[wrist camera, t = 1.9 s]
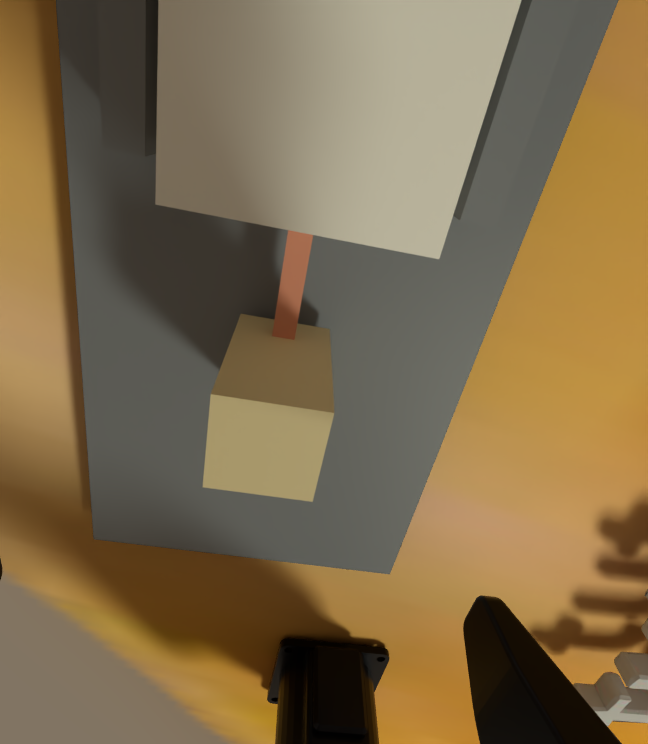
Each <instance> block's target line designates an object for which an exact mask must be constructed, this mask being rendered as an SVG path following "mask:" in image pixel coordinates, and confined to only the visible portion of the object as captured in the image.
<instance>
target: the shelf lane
mask: <svg viewBox="0 0 648 744" xmlns="http://www.w3.org/2000/svg"><path fill="white" fill-rule="evenodd" d="M617 3H618V0H521V4H520V7H519V10H518V13H517V16H516V19H515V22H514V26H513V29H512V32H511V35H510V38H509V41H508V44H507V48H506V51H505V54H504V57H503V60H502V63H501V66H500V70H499V73H498V76H497V79H496V82H495V85H494V89H493V92H492V95H491V98H490V101H489V104H488V107H487V111H486V114H485V117H484V120H483V123H482V126H481V129H480V133H479V136H478V139H477V142H476V145H475V148H474V151H473V155H472V158H471V161H470V164H469V167H468V170H467V173H466V177H465V180H464V183H463V186H462V189H461V192H460V195H459V199H458V202H457V205H456V208H455V211H454V214H453V217H452V221H451V224H450V227H449V230H448V233H447V236H446V239H445V243H444V246H443V249H442V252H441V255H440V258H439V259H435V258H430V257H424V256H419V255H414V254H409V253H404V252H399V251H393V250H388V249H383V248H378V247H373V246H368V245H362V244H357V243H352V242H347V241H342V240H336V239H331V238H326V237H321V236H316V235H313V239H312V245H311V250H310V256H309V261H308V267H307V273H306V278H305V284H304V289H303V295H302V300H301V306H300V312H299V317H298V324H304V325H309V326H315V327H321V328H327V329H330V343H331V361H332V378H333V396H334V417H333V421H332V425H331V429H330V433H329V437H328V441H327V445H326V449H325V453H324V458H323V462H322V466H321V470H320V474H319V478H318V482H317V486H316V490H315V494H314V498H313V502H310V501H302V500H295V499H287V498H280V497H272V496H265V495H257V494H250V493H242V492H235V491H227V490H219V489H212V488H204V487H203V476H204V465H205V454H206V442H207V431H208V419H209V408H210V397H211V392H212V389H213V387H214V384H215V381H216V379H217V376H218V373H219V371H220V368H221V365H222V363H223V360H224V357H225V355H226V352H227V349H228V347H229V344H230V341H231V339H232V336H233V333H234V331H235V328H236V325H237V323H238V320H239V317H240V315H241V314H246V315H251V316H257V317H263V318H269V319H275V314H276V307H277V300H278V294H279V287H280V281H281V274H282V268H283V261H284V255H285V248H286V242H287V235H288V230H285V229H280V228H274V227H269V226H264V225H259V224H254V223H249V222H243V221H238V220H233V219H228V218H223V217H218V216H212V215H207V214H202V213H197V212H192V211H187V210H181V209H176V208H171V207H166V206H161V205H155V195H156V130H157V65H158V0H56V9H57V23H58V38H59V52H60V66H61V81H62V95H63V109H64V123H65V138H66V152H67V166H68V180H69V195H70V209H71V223H72V237H73V252H74V266H75V280H76V294H77V309H78V323H79V337H80V351H81V366H82V380H83V394H84V408H85V423H86V437H87V451H88V465H89V480H90V494H91V508H92V522H93V537H94V539H96V540H104V541H113V542H121V543H130V544H138V545H147V546H155V547H164V548H172V549H181V550H189V551H198V552H206V553H214V554H223V555H231V556H240V557H248V558H257V559H265V560H274V561H282V562H291V563H299V564H308V565H316V566H325V567H333V568H341V569H350V570H358V571H367V572H375V573H384V574H390V572H391V570H392V567H393V565H394V562H395V560H396V557H397V554H398V552H399V549H400V547H401V544H402V542H403V539H404V537H405V534H406V532H407V529H408V527H409V524H410V522H411V519H412V517H413V514H414V512H415V509H416V507H417V504H418V502H419V499H420V497H421V494H422V492H423V489H424V487H425V484H426V482H427V479H428V477H429V474H430V472H431V469H432V467H433V464H434V462H435V459H436V457H437V454H438V452H439V449H440V447H441V444H442V442H443V439H444V437H445V434H446V432H447V429H448V427H449V424H450V422H451V419H452V417H453V414H454V412H455V409H456V406H457V404H458V401H459V399H460V396H461V394H462V391H463V389H464V386H465V384H466V381H467V379H468V376H469V374H470V371H471V369H472V366H473V364H474V361H475V359H476V356H477V354H478V351H479V349H480V346H481V344H482V341H483V339H484V336H485V334H486V331H487V329H488V326H489V324H490V321H491V319H492V316H493V314H494V311H495V309H496V306H497V304H498V301H499V299H500V296H501V294H502V291H503V289H504V286H505V284H506V281H507V279H508V276H509V274H510V271H511V269H512V266H513V264H514V261H515V258H516V256H517V253H518V251H519V248H520V246H521V243H522V241H523V238H524V236H525V233H526V231H527V228H528V226H529V223H530V221H531V218H532V216H533V213H534V211H535V208H536V206H537V203H538V201H539V198H540V196H541V193H542V191H543V188H544V186H545V183H546V181H547V178H548V176H549V173H550V171H551V168H552V166H553V163H554V161H555V158H556V156H557V153H558V151H559V148H560V146H561V143H562V141H563V138H564V136H565V133H566V131H567V128H568V126H569V123H570V121H571V118H572V115H573V113H574V110H575V108H576V105H577V103H578V100H579V98H580V95H581V93H582V90H583V88H584V85H585V83H586V80H587V78H588V75H589V73H590V70H591V68H592V65H593V63H594V60H595V58H596V55H597V53H598V50H599V48H600V45H601V43H602V40H603V38H604V35H605V33H606V30H607V28H608V25H609V23H610V20H611V18H612V15H613V13H614V10H615V8H616V5H617Z"/></svg>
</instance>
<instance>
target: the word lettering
mask: <svg viewBox="0 0 648 744" xmlns="http://www.w3.org/2000/svg"><path fill="white" fill-rule="evenodd" d="M645 596H646V597H647V599H648V589H647V591H646V593H645ZM642 632H643V634H644V635H645V637H646V639H647V640H648V619H647V620H646V621H645V623H644V624H643V625H642ZM614 663H615V665H616V667H617V669H618V671H619V673H620V675H621V676H622V678H623V680H624V682H625V684H626V686H628V687H625V686H624V684H623V682H622V680H621V678H620V676H619V675H618V674H616V673H613V672H606V673H603V675H602V676H601V677H600V678H599V679H598V680H597V682H596V683H595V684H594V685H593V684H582V683H574V684H573V686H574V687H575V688H576V690H577V691H578V692H579V693H580V694H581V696H582V697H583V698H584V699H585V700H586V701H587V703H588V704H589V705H590V706H591V707H592V709H593V710H594V711H595V712H596V713H597V715H598V716H599V717H600V718H601V719H602V721H603V722H604V723H605V724H606V725H607V726H609V724H610V723H611V722H612V721H617V722H636V723H648V654H646V653H633V652H620V654H619V655H618V656H617V657H616V658H615V659H614Z"/></svg>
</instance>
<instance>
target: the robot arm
mask: <svg viewBox="0 0 648 744" xmlns="http://www.w3.org/2000/svg"><path fill="white" fill-rule="evenodd" d="M1 576H2V564H1V559H0V579H1ZM463 632H464V641H465V648H466V656H467V664H468V672H469V679H470V687H471V695H472V703H473V709H474V716H475V721H476V726H477V731H478V736H479V740H480V744H622V743H621V742H620V741H619V740H618V739H617V737H616V736H615V735H614V734H613V733H612V731H611V730H610V729H609V728H608V727H607V725H606V724H605V723H604V722H603V721H602V719H601V718H600V717H599V716H598V715H597V713H596V712H595V711H594V710H593V709H592V707H591V706H590V705H589V704H588V703H587V701H586V700H585V699H584V698H583V697H582V696H581V694H580V693H579V692H578V691H577V690H576V688H575V687H574V686H573V685H572V684H571V682H570V681H569V680H568V679H567V678H566V676H565V675H564V674H563V673H562V672H561V670H560V669H559V668H558V667H557V666H556V664H555V663H554V662H553V661H552V660H551V658H550V657H549V656H548V655H547V654H546V652H545V651H544V650H543V649H542V648H541V646H540V645H539V644H538V643H537V642H536V640H535V639H534V638H533V637H532V636H531V634H530V633H529V632H528V631H527V630H526V628H525V627H524V626H523V625H522V624H521V622H520V621H519V620H518V619H517V618H516V616H515V615H514V614H513V613H512V612H511V610H510V609H509V608H508V607H507V606H506V604H505V603H504V602H503V601H502V600H501V599H499V598H497V597H490V596H479V597H477V598H476V600H475V602H474V604H473V605H472V607H471V609H470V611H469V613H468V614H467V616H466V618H465V621H464V626H463ZM388 661H389V652H388V650H387V649H385V648H381V647H371V646H361V645H351V644H341V643H331V642H321V641H311V640H301V639H291V638H287V639H283V640H282V641H281V642H280V646H279V650H278V654H277V658H276V662H275V666H274V670H273V674H272V678H271V682H270V686H269V690H268V697H267V700H268V702H270V703H273V704H278V709H277V724H276V739H275V744H379V738H378V728H377V717H376V707H375V697H374V692H375V690H376V687H377V685H378V683H379V681H380V679H381V677H382V674H383V672H384V670H385V668H386V666H387V664H388Z"/></svg>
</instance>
